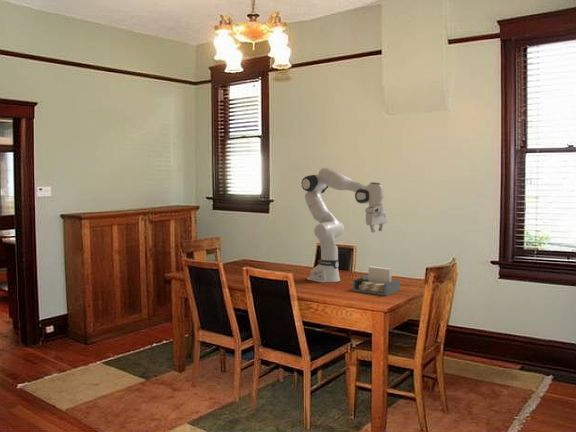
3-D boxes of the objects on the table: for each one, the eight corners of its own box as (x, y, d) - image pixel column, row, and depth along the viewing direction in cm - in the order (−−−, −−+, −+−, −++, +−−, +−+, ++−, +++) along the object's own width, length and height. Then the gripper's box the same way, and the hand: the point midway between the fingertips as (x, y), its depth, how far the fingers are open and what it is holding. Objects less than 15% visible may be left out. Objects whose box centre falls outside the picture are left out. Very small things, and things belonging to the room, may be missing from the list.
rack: (352, 291, 324) (353, 279, 324) (367, 286, 338) (367, 275, 338) (386, 296, 311) (386, 284, 310) (400, 290, 325) (400, 279, 325)
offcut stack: (358, 288, 324) (358, 282, 323) (363, 287, 328) (363, 280, 328) (382, 292, 314) (382, 285, 314) (387, 290, 318) (387, 284, 318)
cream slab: (368, 286, 331) (368, 266, 330) (370, 285, 333) (370, 266, 332) (389, 289, 322) (389, 269, 321) (391, 288, 325) (391, 268, 324)
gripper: (379, 208, 339) (380, 230, 340) (363, 209, 323) (364, 232, 324) (388, 208, 335) (389, 230, 336) (373, 210, 319) (373, 233, 320)
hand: (376, 231), depth 330 cm, fingers open, 8 cm apart
